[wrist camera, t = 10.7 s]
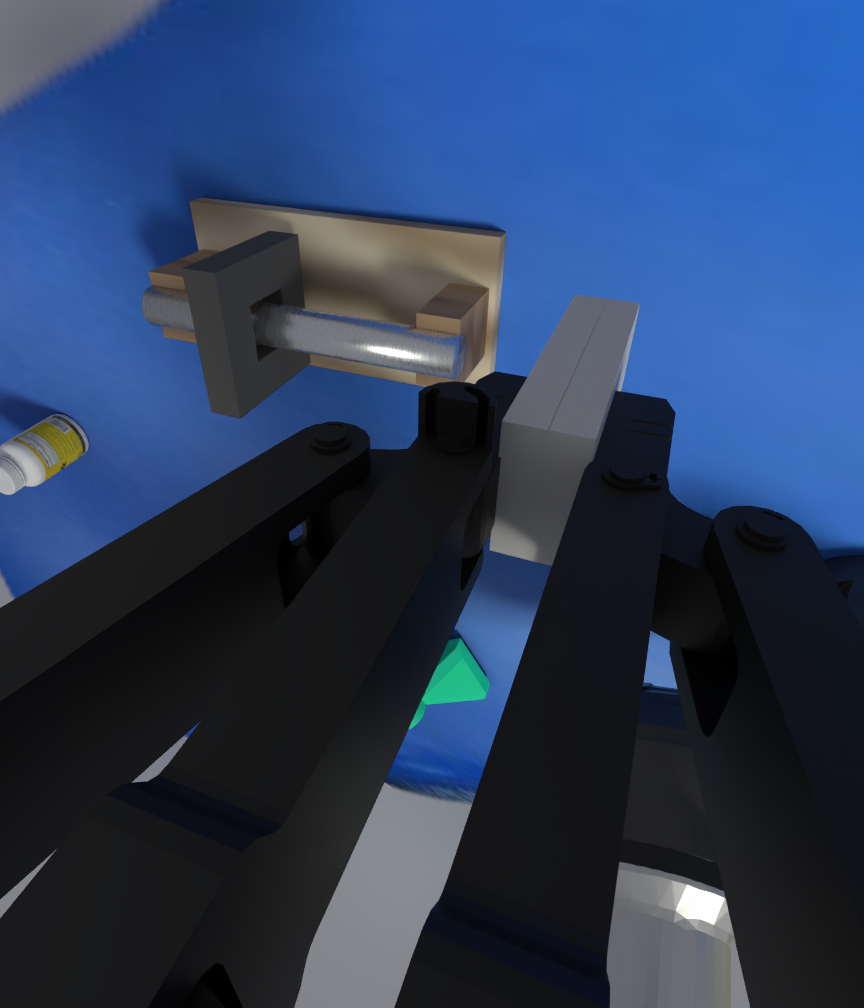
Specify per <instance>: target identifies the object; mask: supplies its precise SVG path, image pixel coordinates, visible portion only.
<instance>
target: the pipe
mask: <svg viewBox="0 0 864 1008" xmlns="http://www.w3.org/2000/svg"><path fill="white" fill-rule="evenodd" d="M142 310H143V314H144V317H145V318H146V320H147V321H148V322H149V323H150V324H151V325H154V326H159V327H165V328H170V329H176V330H181V331H187V332H192V333H195V330H194V325H193V320H192V315H191V310H190V306H189V301H188V296H187V291H183V290H177V289H171V288H165V287H158V286H150V287H149V288H148V289H147V290H146V291H145V293H144V295H143V299H142ZM250 311H251V317H252V324H253V330H254V337H255V344H256V346H257V345H264V346H270V347H275V348H281V349H286V350H292V351H297V352H303V353H308V354H314V355H319V356H325V357H331V358H336V359H342V360H347V361H353V362H358V363H364V364H369V365H375V366H380V367H386V368H391V369H397V370H402V371H408V372H414V373H419V374H425V375H430V376H436V377H441V378H447V379H452V380H456V379H457V378H458V377H459V375H460V373H461V371H462V368H463V364H464V360H465V353H466V338H465V335H461V334H460V335H457V334H451V333H445V332H439V331H432V330H426V329H420V328H416V326H413V325H406V324H400V323H394V322H388V321H381V320H375V319H369V318H363V317H356V316H350V315H344V314H338V313H331V312H325V311H319V310H313V309H306V308H300V307H294V306H288V305H281V304H275V303H269V302H263V301H262V300H260V301H258V302H256V303H254V304H253V305H251V306H250ZM463 338H464V339H463ZM459 344H460V345H463V346H459ZM459 350H460V351H459Z"/></svg>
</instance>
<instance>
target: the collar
mask: <svg viewBox="0 0 864 1008" xmlns="http://www.w3.org/2000/svg"><path fill="white" fill-rule="evenodd" d="M182 272H183V277H184V282H185V286H186V291H187V296H188V301H189V306H190V310H191V315H192V320H193V325H194V330H195V334H196V339H197V344H198V349H199V354H200V358H201V363H202V368H203V373H204V378H205V383H206V387H207V392H208V397H209V402H210V407H211V411H212V412H213V413H218V414H222V415H227V416H232V417H236V418H242V417H243V416H244V415H246V414H247V413H248V412H249V411H251V410H252V409H253V408H255V407H256V406H257V405H258V404H260V403H261V402H262V401H263V400H265V399H266V398H267V397H268V396H270V395H271V394H272V393H273V392H275V391H276V390H277V389H278V388H280V387H281V386H282V385H284V384H285V383H286V382H287V381H289V380H290V379H291V378H292V377H294V376H295V375H296V374H297V373H299V372H300V371H301V370H302V369H304V368H305V367H306V366H307V365H309V364H310V363H311V361H310V354H308V353H303V352H297V351H292V350H286V349H281V348H275V347H270V346H264V345H257V346H256V344H255V337H254V330H253V324H252V317H251V311H250V306H251V305H253V304H254V303H256V302H258V301H260V300H262V301H263V302H269V303H275V304H281V305H288V306H294V307H300V308H305V300H304V290H303V280H302V270H301V260H300V250H299V240H298V234H292V233H284V232H276V231H267V232H265V233H262V234H260V235H258V236H255V237H253V238H251V239H249V240H246V241H244V242H242V243H239V244H237V245H235V246H232V247H230V248H228V249H225V250H223V251H221V252H218V253H216V254H214V255H212V256H209V257H207V258H205V259H202V260H200V261H198V262H195V263H193V264H191V265H188V266H186V267H184V268H182Z"/></svg>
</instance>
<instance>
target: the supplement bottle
mask: <svg viewBox="0 0 864 1008" xmlns="http://www.w3.org/2000/svg"><path fill="white" fill-rule="evenodd" d="M88 447H89V443H88V439H87V436H86V434H85V433H84V431H83V430H82V428H81V427H80V426H79V425H78V424H77V423H76V422H75V421H74V420H73V419H71V418H70V417H68V416H66V415H62V414H54V415H51V416H49V417H48V418H46V419H44V420H42V421H41V422H39V423H37V424H35V425H34V426H32V427H30V428H29V429H27V430H25V431H23V432H22V433H20V434H18V435H17V436H15V437H13V438H12V439H10V440H8V441H6V442H5V443H3V444H2V445H1V446H0V492H1V493H3V494H6V495H11V494H14V493H15V492H17V491H18V490H20V489H22V487H24V485H25V486H37V485H39V484H41V483H43V482H44V481H46V480H47V479H49V478H50V477H52V476H53V475H54V474H56V473H57V472H59V471H61V470H62V469H63V468H65V467H66V466H68V465H69V464H71V463H72V462H74V461H75V460H77V459H78V458H80V457H81V456H83V455H84V454H85V453H86V452H87V450H88Z"/></svg>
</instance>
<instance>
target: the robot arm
mask: <svg viewBox="0 0 864 1008" xmlns="http://www.w3.org/2000/svg"><path fill="white" fill-rule="evenodd" d="M639 306H640V303H634V302H627V301H619V300H612V299H605V298H597V297H590V296H583V295H575V296H574V298H573V300H572V301H571V303H570V305H569V306H568V308H567V310H566V312H565V313H564V315H563V317H562V319H561V320H560V322H559V324H558V325H557V327H556V329H555V331H554V332H553V334H552V336H551V337H550V339H549V341H548V343H547V344H546V346H545V348H544V350H543V351H542V353H541V355H540V356H539V358H538V360H537V362H536V363H535V365H534V367H533V368H532V370H531V372H530V374H529V375H528V377H524V376H518V375H513V374H507V373H501V372H495V371H494V372H492V373H490V374H488V375H486V376H484V377H482V378H480V379H478V380H477V382H476V383H475V384H472V383H468V382H457V381H451V382H440V383H436V384H433V385H430V386H427V387H425V388H424V389H422V390H421V391H420V392H419V411H418V437H417V438H416V439H415V441H414V442H413V443H412V444H411V446H410V447H409V448H408V449H397V450H387V449H370V438H369V436H368V435H367V433H366V431H364V430H363V429H361V428H359V427H357V426H355V425H351V424H347V423H343V422H326V423H322V424H316V425H313V426H310V427H308V428H305V429H303V430H301V431H299V432H298V433H296V434H294V435H293V436H291V437H289V438H288V439H286V440H284V441H282V442H281V443H279V444H277V445H276V446H274V447H272V448H271V449H269V450H267V451H265V452H264V453H262V454H260V455H259V456H257V457H255V458H254V459H252V460H250V461H249V462H247V463H245V464H243V465H242V466H240V467H238V468H237V469H235V470H233V471H232V472H230V473H228V474H226V475H225V476H223V477H221V478H220V479H218V480H216V481H215V482H213V483H211V484H210V485H208V486H206V487H204V488H203V489H201V490H199V491H198V492H196V493H194V494H193V495H191V496H189V497H187V498H186V499H184V500H182V501H181V502H179V503H177V504H176V505H174V506H172V507H171V508H169V509H167V510H165V511H164V512H162V513H160V514H159V515H157V516H155V517H154V518H152V519H150V520H148V521H147V522H145V523H143V524H142V525H140V526H138V527H137V528H135V529H133V530H132V531H130V532H128V533H126V534H125V535H123V536H121V537H120V538H118V539H116V540H115V541H113V542H111V543H109V544H108V545H106V546H104V547H103V548H101V549H99V550H98V551H96V552H94V553H93V554H91V555H89V556H87V557H86V558H84V559H82V560H81V561H79V562H77V563H76V564H74V565H72V566H71V567H69V568H67V569H65V570H64V571H62V572H60V573H59V574H57V575H55V576H54V577H52V578H50V579H48V580H47V581H45V582H43V583H42V584H40V585H38V586H37V587H35V588H33V589H32V590H30V591H28V592H26V593H25V594H23V595H21V596H20V597H18V598H16V599H15V600H13V601H11V602H10V603H8V604H6V605H4V606H3V607H1V608H0V899H1V898H2V897H3V896H5V895H6V894H7V893H8V892H9V891H10V890H11V889H12V888H13V887H15V886H16V885H17V884H18V883H19V882H20V881H21V880H23V879H24V878H25V877H26V876H27V875H28V874H29V873H30V872H31V871H33V870H34V869H35V868H36V867H37V866H38V865H39V864H40V863H42V862H43V861H44V860H45V859H46V858H47V857H48V856H49V855H50V854H52V853H53V852H54V851H55V850H56V849H57V850H56V851H55V852H54V854H53V855H52V856H51V857H50V858H49V860H48V861H47V862H46V863H45V864H44V866H43V867H42V868H41V869H40V870H39V872H38V873H37V874H36V875H35V877H34V878H33V879H32V880H31V881H30V883H29V884H28V885H27V886H26V888H25V889H24V890H23V891H22V893H21V894H20V895H19V896H18V897H17V899H16V900H15V901H14V902H13V904H12V905H11V906H10V907H9V909H8V910H7V911H6V912H5V913H4V914H3V916H2V917H1V918H0V1008H294V1006H295V1003H296V1000H297V997H298V993H299V990H300V987H301V982H302V977H303V972H304V968H305V963H306V959H307V956H308V953H309V949H310V946H311V944H312V941H313V939H314V936H315V934H316V931H317V929H318V927H319V925H320V923H321V920H322V918H323V916H324V914H325V912H326V909H327V907H328V905H329V903H330V901H331V898H332V896H333V894H334V892H335V890H336V887H337V885H338V883H339V881H340V879H341V876H342V874H343V872H344V870H345V868H346V865H347V863H348V861H349V859H350V857H351V854H352V852H353V850H354V847H355V846H356V843H357V841H358V839H359V836H360V835H361V832H362V830H363V828H364V826H365V823H366V821H367V819H368V817H369V815H370V812H371V810H372V808H373V806H374V804H375V802H376V799H377V797H378V795H379V793H380V791H381V788H382V786H383V784H384V782H385V780H386V777H387V775H388V773H389V771H390V769H391V766H392V764H393V762H394V760H395V758H396V755H397V753H398V751H399V749H400V747H401V744H402V742H403V740H404V738H405V736H406V733H407V731H408V729H409V727H410V725H411V722H412V720H413V718H414V716H415V714H416V711H417V709H418V707H419V705H420V703H421V700H422V698H423V696H424V694H425V692H426V689H427V687H428V685H429V683H430V681H431V678H432V676H433V674H434V672H435V670H436V667H437V665H438V663H439V661H440V659H441V656H442V654H443V652H444V650H445V648H446V645H447V643H448V641H449V639H450V637H451V634H452V632H453V630H454V628H455V626H456V623H457V621H458V619H459V617H460V615H461V612H462V610H463V608H464V606H465V604H466V601H467V599H468V597H469V595H470V593H471V590H472V588H473V586H474V584H475V582H476V579H477V577H478V575H479V573H480V571H481V568H482V562H483V552H484V545H485V543H486V541H487V539H488V536H489V534H490V532H491V539H490V551H494V552H498V553H502V554H506V555H510V556H514V557H518V558H522V559H526V560H530V561H534V562H537V563H541V564H545V565H549V566H552V567H551V570H550V573H549V576H548V579H547V582H546V585H545V588H544V591H543V594H542V597H541V600H540V603H539V606H538V609H537V612H536V615H535V618H534V621H533V624H532V627H531V630H530V633H529V636H528V639H527V642H526V645H525V648H524V651H523V654H522V657H521V660H520V663H519V666H518V669H517V672H516V675H515V678H514V681H513V684H512V687H511V690H510V693H509V696H508V699H507V702H506V705H505V708H504V711H503V714H502V717H501V720H500V723H499V726H498V729H497V732H496V735H495V738H494V741H493V744H492V747H491V750H490V753H489V756H488V759H487V762H486V765H485V768H484V771H483V774H482V777H481V780H480V783H479V786H478V789H477V792H476V795H475V798H474V801H473V804H472V807H471V810H470V813H469V816H468V819H467V822H466V825H465V828H464V831H463V834H462V837H461V840H460V843H459V846H458V849H457V852H456V855H455V858H454V861H453V864H452V867H451V870H450V873H449V876H448V879H447V881H446V884H445V887H444V890H443V892H442V895H441V896H440V899H439V901H438V902H437V903H436V904H435V906H434V907H433V908H432V909H431V911H430V913H429V916H428V918H427V920H426V922H425V924H424V926H423V929H422V931H421V934H420V937H419V939H418V942H417V945H416V948H415V950H414V953H413V955H412V958H411V961H410V964H409V967H408V970H407V973H406V976H405V979H404V981H403V985H402V987H401V990H400V993H399V996H398V999H397V1002H396V1005H395V1008H731V950H732V947H733V944H734V943H735V942H736V947H737V951H738V956H739V960H740V964H741V968H742V973H743V977H744V981H745V986H746V991H747V995H748V999H749V1003H750V1008H864V556H850V557H842V558H836V559H830V560H826V561H824V560H823V558H822V556H821V554H820V552H819V551H818V549H817V547H816V545H815V543H814V542H813V540H812V538H811V537H810V536H809V534H808V533H807V532H806V531H805V530H804V529H803V528H802V526H800V525H799V524H797V523H796V522H794V521H793V520H791V519H790V518H788V517H786V516H784V515H782V514H780V513H778V512H774V511H772V510H769V509H766V508H759V507H753V506H733V507H730V508H727V509H724V510H721V511H720V512H719V513H718V514H717V516H716V517H715V518H714V520H713V519H711V518H709V517H706V516H704V515H701V514H699V513H697V512H695V511H693V510H691V509H689V508H687V507H686V506H685V505H683V504H682V503H680V502H679V501H678V500H677V499H676V498H675V497H674V496H673V495H672V494H671V493H670V491H669V483H668V479H667V471H668V463H669V456H670V449H671V442H672V434H673V427H674V420H675V412H674V410H673V409H672V407H671V406H670V404H669V403H668V401H667V400H666V399H662V398H656V397H650V396H644V395H639V394H633V393H627V392H621V389H622V385H623V380H624V376H625V371H626V366H627V362H628V357H629V352H630V348H631V343H632V339H633V334H634V329H635V325H636V320H637V315H638V311H639ZM301 523H302V529H303V534H302V535H301V536H299V537H298V538H297V539H295V540H293V541H290V539H289V532H290V531H291V530H293V529H294V528H295V527H297V526H298V525H299V524H301ZM650 630H651V631H653V632H654V633H656V634H658V635H660V636H662V637H664V638H666V639H668V640H669V641H670V657H671V662H672V666H673V670H674V675H675V679H676V683H677V688H678V689H674V688H666V687H659V686H654V685H652V684H651V683H643V682H644V674H645V667H646V659H647V652H648V644H649V637H650ZM200 721H201V722H200ZM199 722H200V723H199ZM198 723H199V724H198ZM196 724H198V726H197V727H196V728H195V730H194V731H193V732H192V734H191V735H190V736H189V738H188V739H187V740H186V742H185V743H184V744H183V746H182V747H181V748H180V749H179V751H178V752H177V753H176V755H175V756H174V757H173V759H172V760H171V761H170V763H169V764H168V765H167V766H166V767H165V768H164V769H163V770H162V772H161V773H160V774H159V775H158V776H156V777H154V778H153V779H151V780H149V781H148V782H134V783H131V782H132V781H134V780H135V779H136V778H137V777H138V776H139V775H140V774H141V773H143V772H144V771H145V770H146V769H147V768H148V767H149V766H150V765H152V763H154V762H155V761H156V760H157V759H158V758H159V757H161V756H162V754H164V753H165V752H166V751H167V750H168V749H169V748H170V747H172V746H173V745H174V744H175V743H176V742H177V741H178V740H179V739H181V738H182V737H183V736H184V735H185V734H186V733H187V732H189V731H190V730H191V729H192V728H193V727H194V726H195V725H196Z"/></svg>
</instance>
